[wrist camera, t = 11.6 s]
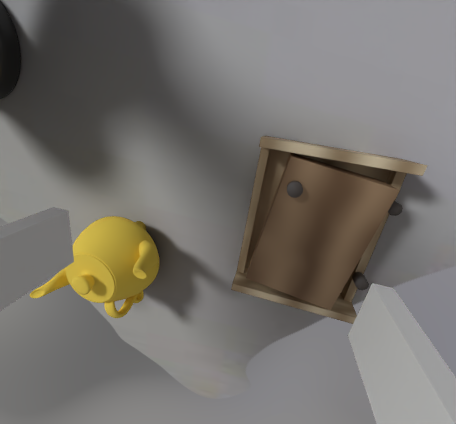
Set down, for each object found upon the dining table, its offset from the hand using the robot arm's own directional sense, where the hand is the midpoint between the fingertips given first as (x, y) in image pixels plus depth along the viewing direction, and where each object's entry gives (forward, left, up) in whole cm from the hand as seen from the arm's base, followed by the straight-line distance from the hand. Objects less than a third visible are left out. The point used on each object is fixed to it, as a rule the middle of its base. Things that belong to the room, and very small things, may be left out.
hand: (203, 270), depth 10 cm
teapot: (-18, -17, -24) cm, 34 cm away
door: (+8, -5, -22) cm, 24 cm away
